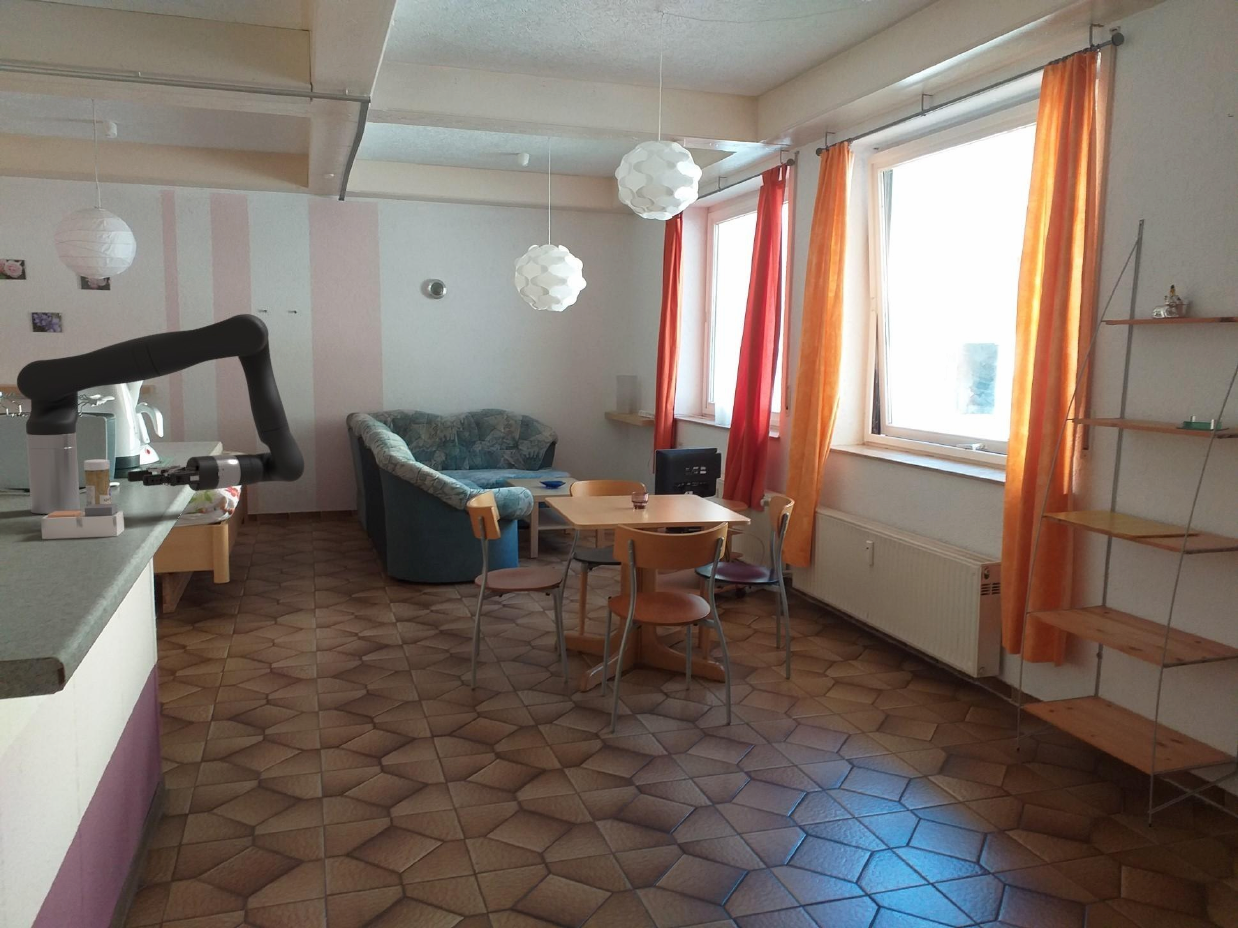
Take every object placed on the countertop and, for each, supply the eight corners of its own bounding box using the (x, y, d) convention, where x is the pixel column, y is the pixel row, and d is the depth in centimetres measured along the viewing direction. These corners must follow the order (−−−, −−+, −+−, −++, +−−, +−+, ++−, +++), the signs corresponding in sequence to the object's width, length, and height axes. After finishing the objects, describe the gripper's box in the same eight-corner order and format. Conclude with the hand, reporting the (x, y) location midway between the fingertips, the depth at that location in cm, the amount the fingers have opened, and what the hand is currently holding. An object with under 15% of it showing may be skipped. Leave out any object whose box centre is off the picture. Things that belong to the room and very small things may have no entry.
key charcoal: (91, 514, 177) (90, 504, 177) (117, 513, 179) (116, 503, 179) (85, 518, 173) (84, 508, 173) (112, 517, 174) (111, 507, 174)
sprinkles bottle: (113, 526, 184) (110, 460, 183) (88, 528, 182) (84, 461, 180) (111, 522, 188) (108, 458, 186) (86, 524, 186) (82, 459, 184)
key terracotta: (55, 521, 176) (54, 511, 175) (82, 520, 177) (81, 510, 177) (48, 525, 171) (47, 515, 171) (76, 524, 173) (75, 514, 172)
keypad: (52, 532, 176) (50, 513, 176) (124, 530, 180) (123, 510, 180) (42, 539, 170) (41, 518, 170) (117, 536, 174) (116, 516, 174)
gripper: (199, 452, 205) (122, 458, 193) (227, 458, 195) (147, 464, 184) (200, 485, 206) (123, 492, 194) (228, 492, 196) (149, 500, 184)
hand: (135, 478), depth 189 cm, fingers open, 8 cm apart
